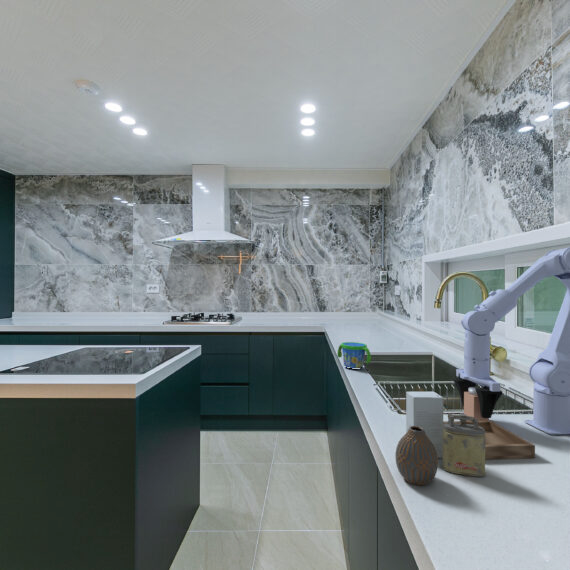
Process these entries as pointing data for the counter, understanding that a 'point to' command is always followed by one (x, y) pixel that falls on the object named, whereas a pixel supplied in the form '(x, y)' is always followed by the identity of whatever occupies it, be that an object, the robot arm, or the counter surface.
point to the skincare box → (426, 416)
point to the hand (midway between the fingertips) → (476, 412)
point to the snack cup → (354, 354)
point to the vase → (416, 457)
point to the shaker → (472, 404)
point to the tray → (503, 442)
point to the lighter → (463, 446)
